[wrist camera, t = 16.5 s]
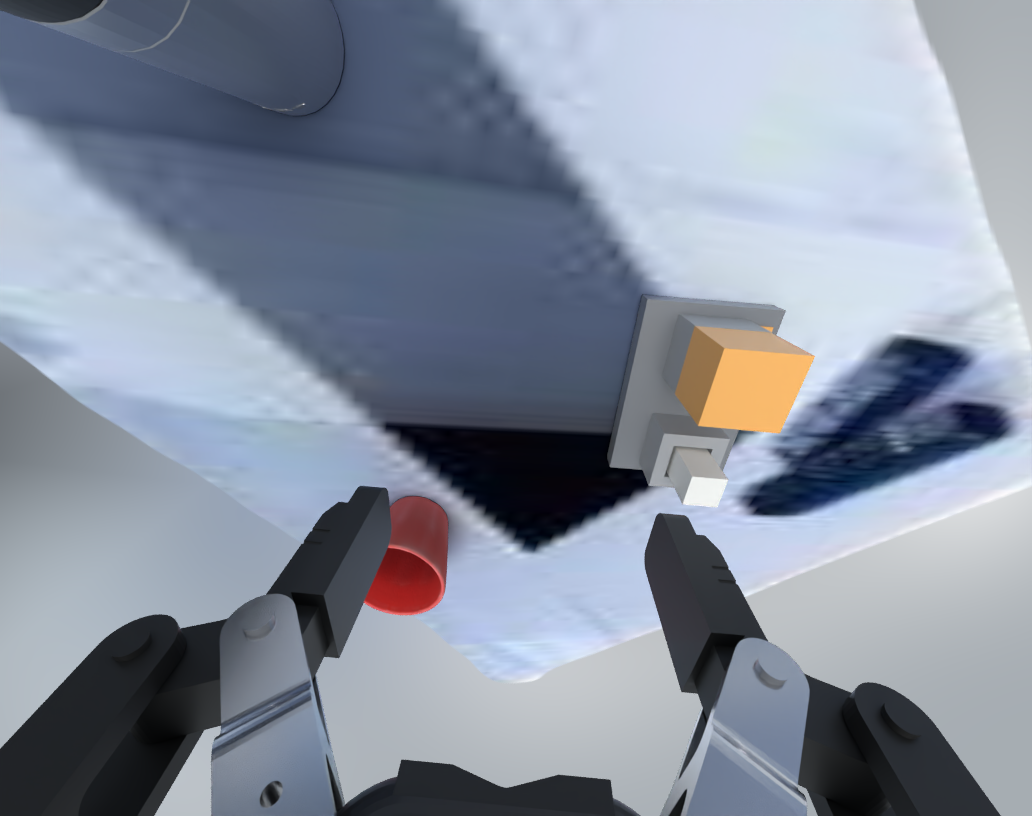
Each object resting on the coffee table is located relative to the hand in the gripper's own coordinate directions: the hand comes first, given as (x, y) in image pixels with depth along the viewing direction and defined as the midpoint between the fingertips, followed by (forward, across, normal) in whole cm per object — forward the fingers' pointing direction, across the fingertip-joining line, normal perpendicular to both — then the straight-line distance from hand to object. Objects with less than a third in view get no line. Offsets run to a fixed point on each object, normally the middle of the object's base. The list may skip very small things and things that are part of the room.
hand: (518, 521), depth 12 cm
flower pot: (+28, +12, +28) cm, 42 cm away
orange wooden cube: (+22, -16, +2) cm, 27 cm away
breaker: (+23, -16, +12) cm, 31 cm away
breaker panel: (+28, -16, +7) cm, 33 cm away
